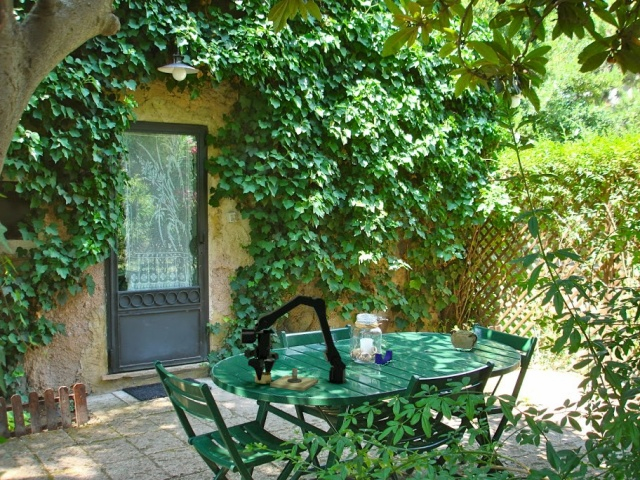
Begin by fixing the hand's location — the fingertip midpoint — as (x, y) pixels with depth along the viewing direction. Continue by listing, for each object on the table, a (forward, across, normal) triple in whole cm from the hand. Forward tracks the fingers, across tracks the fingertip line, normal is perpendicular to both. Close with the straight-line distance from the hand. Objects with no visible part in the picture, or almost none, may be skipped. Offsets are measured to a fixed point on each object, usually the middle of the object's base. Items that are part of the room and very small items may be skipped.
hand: (263, 378), depth 281 cm
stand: (+2, -5, +13) cm, 14 cm away
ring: (+1, 0, 0) cm, 1 cm away
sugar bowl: (+3, -119, +67) cm, 137 cm away
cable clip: (+3, -64, +37) cm, 74 cm away
